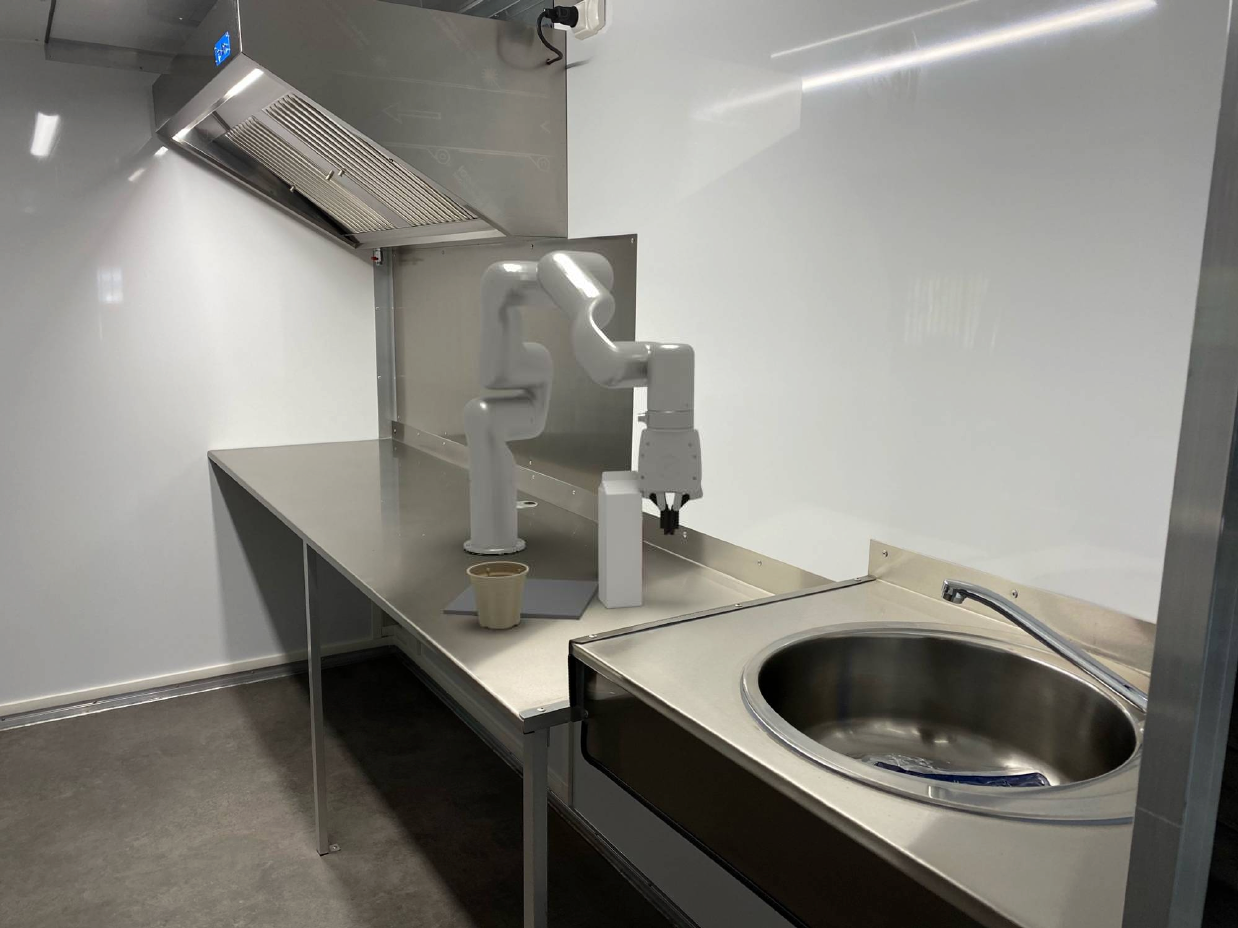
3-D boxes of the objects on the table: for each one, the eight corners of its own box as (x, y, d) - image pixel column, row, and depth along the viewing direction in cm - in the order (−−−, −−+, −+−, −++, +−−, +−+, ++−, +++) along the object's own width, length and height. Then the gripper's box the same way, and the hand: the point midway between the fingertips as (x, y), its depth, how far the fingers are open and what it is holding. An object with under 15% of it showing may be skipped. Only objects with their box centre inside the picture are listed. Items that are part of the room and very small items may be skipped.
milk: (598, 598, 155) (597, 469, 152) (633, 596, 157) (632, 467, 154) (607, 609, 150) (605, 474, 147) (643, 606, 151) (642, 472, 148)
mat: (479, 580, 167) (479, 576, 167) (600, 584, 164) (600, 581, 164) (443, 613, 147) (443, 609, 147) (579, 619, 144) (579, 615, 144)
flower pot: (486, 637, 136) (485, 580, 135) (457, 621, 143) (456, 567, 142) (541, 625, 141) (540, 570, 140) (510, 610, 149) (509, 558, 148)
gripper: (620, 422, 145) (620, 537, 148) (716, 424, 143) (714, 540, 146) (627, 418, 153) (626, 527, 155) (718, 419, 151) (716, 529, 153)
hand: (669, 533), depth 151 cm, fingers closed
